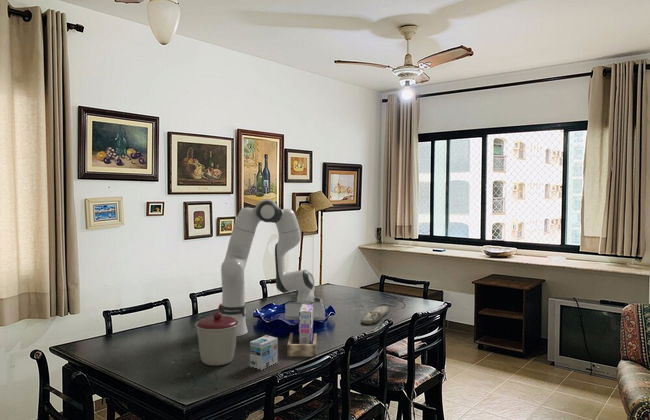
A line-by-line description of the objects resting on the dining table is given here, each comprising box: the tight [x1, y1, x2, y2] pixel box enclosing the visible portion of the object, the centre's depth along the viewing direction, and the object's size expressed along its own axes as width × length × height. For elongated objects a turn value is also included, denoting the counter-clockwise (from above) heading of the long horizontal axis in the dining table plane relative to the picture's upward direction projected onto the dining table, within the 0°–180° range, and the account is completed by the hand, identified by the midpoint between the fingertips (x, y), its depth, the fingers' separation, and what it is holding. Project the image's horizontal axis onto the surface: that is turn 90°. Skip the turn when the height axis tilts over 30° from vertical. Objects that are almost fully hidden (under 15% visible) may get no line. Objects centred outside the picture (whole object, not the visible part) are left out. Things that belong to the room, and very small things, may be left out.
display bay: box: [286, 332, 318, 358], centre depth 216 cm, size 12×17×5 cm
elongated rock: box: [361, 305, 390, 325], centre depth 271 cm, size 35×5×10 cm
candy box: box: [298, 304, 314, 344], centre depth 227 cm, size 14×6×16 cm, turn 177°
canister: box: [194, 311, 239, 367], centre depth 200 cm, size 18×18×21 cm
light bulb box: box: [249, 334, 279, 371], centre depth 197 cm, size 11×7×11 cm, turn 148°
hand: (304, 326), depth 234 cm, fingers closed
